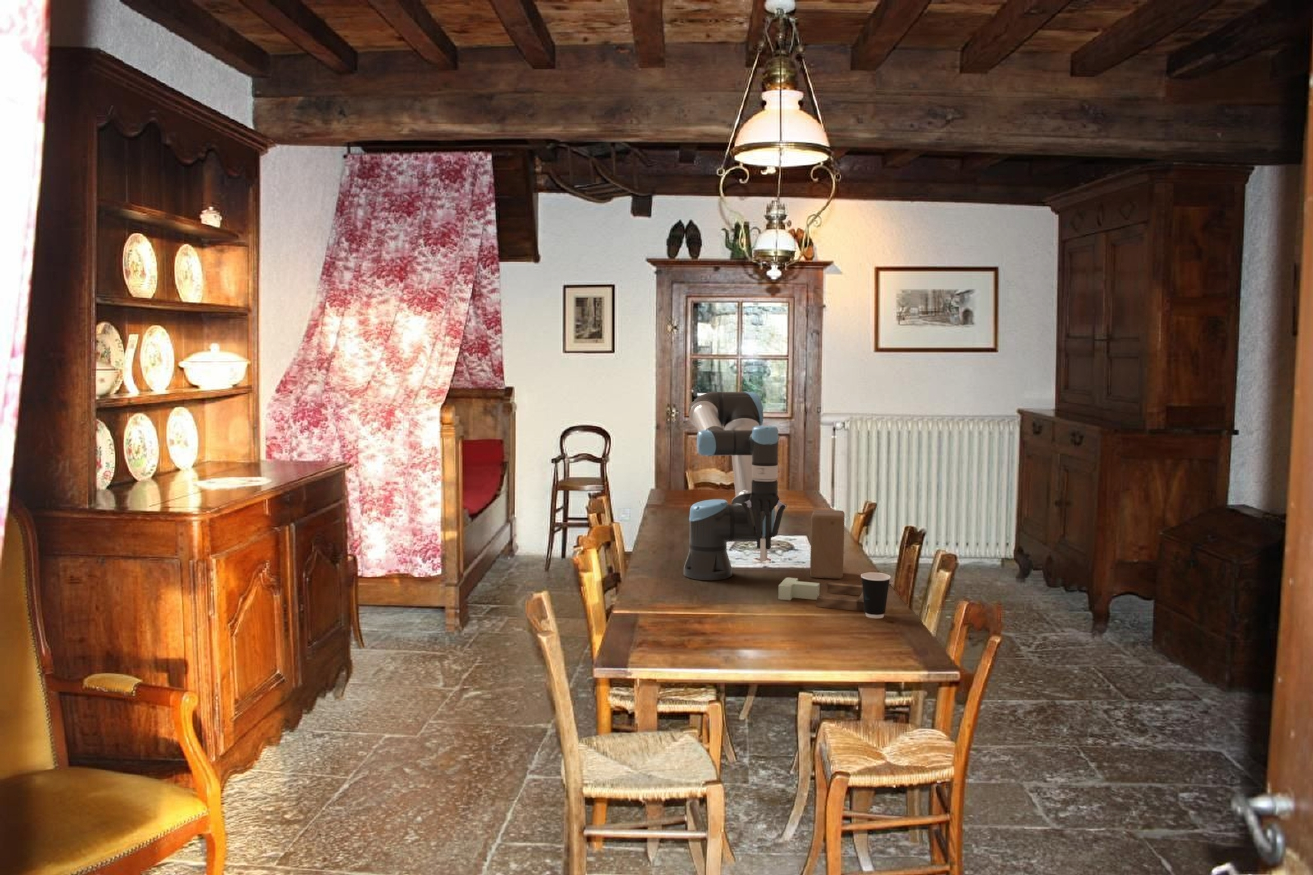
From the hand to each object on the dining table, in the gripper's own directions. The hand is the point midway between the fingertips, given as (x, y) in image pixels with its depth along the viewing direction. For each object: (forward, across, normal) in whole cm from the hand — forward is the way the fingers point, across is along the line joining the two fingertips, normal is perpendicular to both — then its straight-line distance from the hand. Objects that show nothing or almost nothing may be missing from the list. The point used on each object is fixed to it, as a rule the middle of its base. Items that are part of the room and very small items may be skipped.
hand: (763, 559), depth 290 cm
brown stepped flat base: (+10, +24, 0) cm, 26 cm away
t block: (+10, +11, +1) cm, 15 cm away
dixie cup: (+10, +34, -12) cm, 37 cm away
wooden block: (+10, +13, +28) cm, 33 cm away
